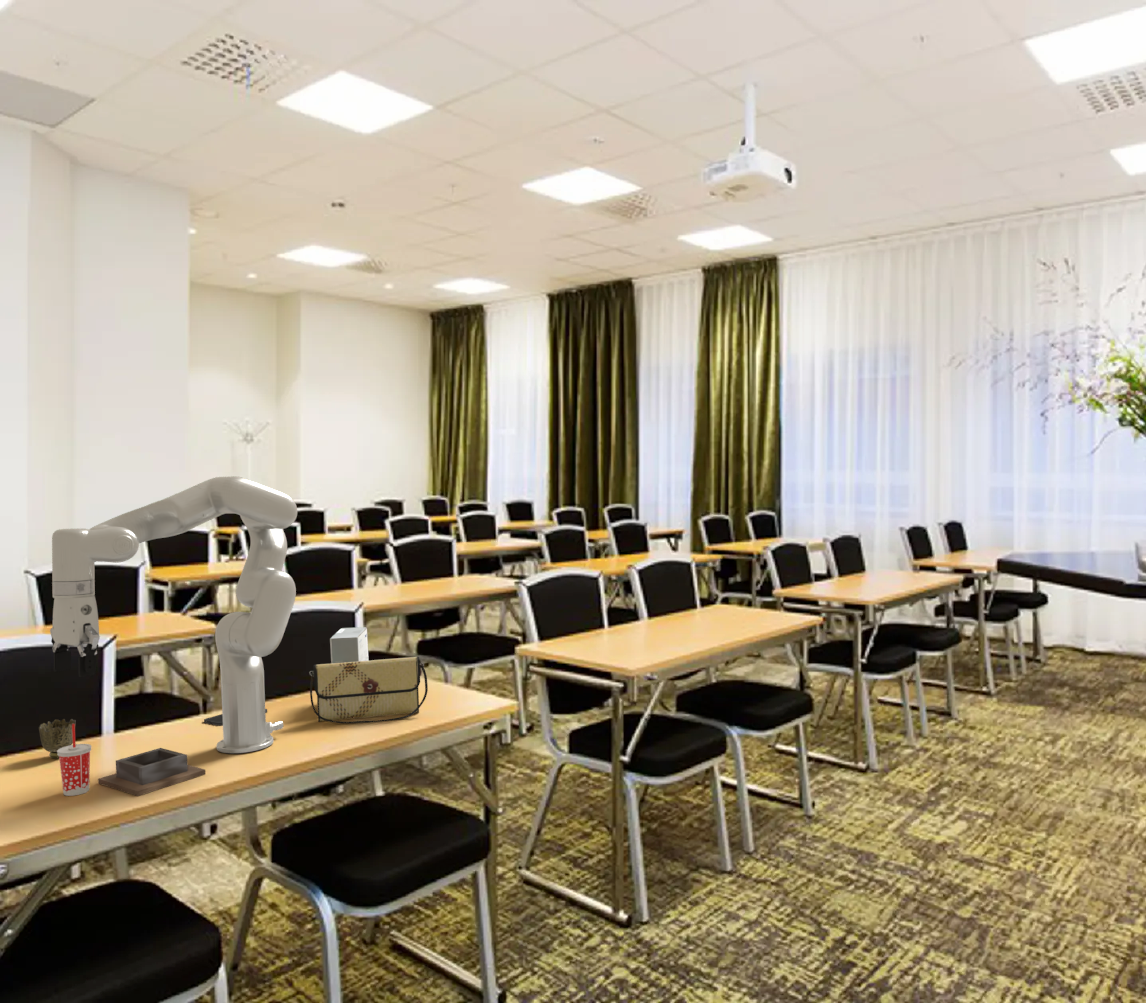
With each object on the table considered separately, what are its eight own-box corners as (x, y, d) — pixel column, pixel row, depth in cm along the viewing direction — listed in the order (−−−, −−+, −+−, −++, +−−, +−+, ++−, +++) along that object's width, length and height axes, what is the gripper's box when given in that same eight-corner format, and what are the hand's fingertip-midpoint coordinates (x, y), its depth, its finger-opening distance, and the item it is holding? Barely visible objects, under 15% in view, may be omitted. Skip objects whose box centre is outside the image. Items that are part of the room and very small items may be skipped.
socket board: (165, 763, 200) (164, 743, 200) (205, 774, 191) (204, 753, 191) (98, 783, 187) (97, 762, 187) (137, 796, 179) (136, 774, 179)
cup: (32, 762, 204) (30, 727, 203) (55, 751, 211) (53, 718, 211) (62, 762, 203) (60, 727, 202) (84, 752, 210) (82, 718, 210)
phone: (269, 709, 242) (220, 723, 229) (269, 713, 242) (221, 727, 229) (250, 706, 246) (201, 719, 233) (250, 710, 246) (201, 723, 233)
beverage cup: (85, 784, 187) (82, 718, 187) (98, 790, 183) (95, 722, 183) (54, 793, 182) (50, 725, 182) (66, 799, 178) (63, 729, 178)
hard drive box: (343, 697, 256) (341, 627, 255) (370, 695, 256) (368, 626, 256) (332, 711, 240) (329, 637, 240) (361, 710, 241) (358, 636, 240)
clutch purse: (310, 728, 225) (307, 669, 224) (311, 721, 231) (309, 663, 231) (429, 717, 232) (427, 659, 231) (427, 710, 238) (425, 654, 238)
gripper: (114, 589, 180) (115, 674, 180) (70, 585, 190) (71, 666, 190) (76, 593, 174) (77, 681, 174) (33, 588, 184) (34, 671, 184)
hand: (74, 673), depth 182 cm, fingers open, 9 cm apart
